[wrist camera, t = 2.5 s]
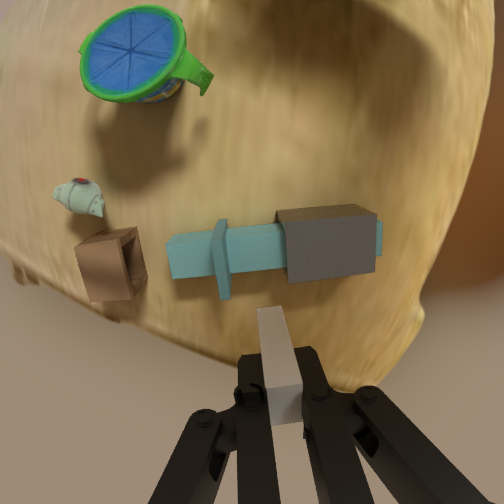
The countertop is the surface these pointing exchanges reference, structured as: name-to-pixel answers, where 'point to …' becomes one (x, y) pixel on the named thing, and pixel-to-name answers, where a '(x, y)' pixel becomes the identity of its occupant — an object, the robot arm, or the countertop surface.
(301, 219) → the sleeve
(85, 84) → the snack cup
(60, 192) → the robot head
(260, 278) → the countertop surface
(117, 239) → the socket block
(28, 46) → the countertop surface
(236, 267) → the tube
